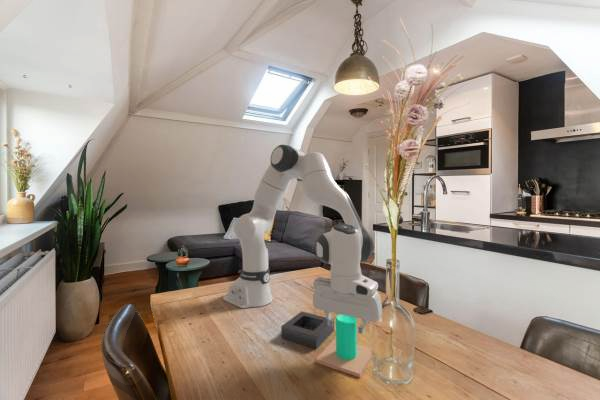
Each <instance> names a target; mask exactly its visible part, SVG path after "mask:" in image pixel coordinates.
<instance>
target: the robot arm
mask: <svg viewBox="0 0 600 400" xmlns="http://www.w3.org/2000/svg"><path fill="white" fill-rule="evenodd" d="M260 179H261V180H260V182H259V184H258V186H257V188H256V191H255V193H254V196H253V205H252V208H251V210H250V212H247V213H245V214H242V215H240V216H239V217H238V218H237V219H236V220H235V222H234V224H233V232H234V234H235V236H236V237H237V238H238V240H239V243H240V247H241V254H242V268H241V269H239V270H238V272H237V273H238V274H240V275H239V277H238V278H237V279H236V280H234V281H233V282H232V283H231V284H230V285H229V287H228V293H227V294H225V295H224V296H223V298H222V300H223V301H225V302H227V303H229V304H232V305H233V306H236V307H238V308H241V309H248V308H257V307H263V306H266V305H268V304H270V303H272V301H274V300H273V299H274V298H273V295H272V290H271V285H270V273H271V272H270V267H269V249H268V248H267V246H266V243H265V236H264V235H265V234H267V233H269V231H270V230H271V229H272V227H273V224H274V219H275V217H276V214H277V213H276V212H277V210H278V207H279V204H280V202H281V200H282V198H283V196H284V194H285V191H286V190H287V187H288V185H289V183H290V181H291V180H292V179H296V181H298V182H301V183H302V187H303V191H304V194H305V195H306V198H307V199H308V200H310V201H311V202H313V203H315V204H317V205H320V206H324V207H328V208H330V209H332V210H334V211H336V212H338V213H339V215H340V216H341V217H342V220H343V222H344V223H340V224H339V223H338V224H335V225H333V226H332V227H331V229H330V231H328V232H324V233H321V234H320V235H319V236H318V237H317V239H316V240H315V256H316V258H317V260H320V261H321V262H322V263H324V264H330V271H329V274H330V275H329V277H330V278H325V277H320V276H319V277H317V278H315V279H314V281H313V289H314V291H313V297H312V305H313V307H314V308H315V309H318V310H321V311H323V313H324V317H326V318H327V320H328V325H330V326H333V325H334V326H335V324H336V317H335V318H334V317H333V316H332V314H331V313H334V314H338V315H347V316H351V317H355V318H356V319H361V322H362V323H363V324H359V326H357V331H358V332H357V334H363V335H364V334H365V333H366V326H367V324H368V323H369V322H373V323H378V322H379V321H380V320H381V319H382V316H383V305H382V303H383V302H382V297H381V295H380V293H379V291H378V288H379V283H378V282H377V281H376V280H373V279H371V278H369V277H367V276H365V275H363V274H362V268H361V263H365V262H367V261H368V260H369V259H370V258H371V257H372V254H373V253H374V252H375V251H374V249H375V243H374V241H373V238H372V236H371V235H370V233H369V232H368V231H367V230H366V228H365V226H364V224H363V222H362V220H361V217H360V215H359V214H358V212H357V210H356V208H355V206H354V203H353V201H352V200H351V197H350V196H349V194H348V193H347V191H346V190H344V189H342V188H341V187H340V186H339V184H337V182H336V180H335V179H334V177H333V174H332V169H331V168H330V165H329V163H328V160H327V159H326V157H325V155H324V154H322V153H321V152H318V151H310V152H308V153H307V152H304V151H303V150H300V149H298V148H294V147H293V146H291V145H288V144H287V145H286V144H280V145H277V146H276V147H275V148H274V149H273V151H272V152H271V154H270V164H269V165H268V166H267V169H266V170H265V171H264V173H263V175H262V177H261V178H260Z"/></svg>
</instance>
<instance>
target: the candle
mask: <svg viewBox="0 0 600 400" xmlns="http://www.w3.org/2000/svg"><path fill="white" fill-rule="evenodd" d="M357 321H358V319H357V318H355V317H351V316H347V315H343V314H338V315H336V317H335V338H336V354H337V356H338V357H339V358H341V359H344V360H351V359H354V358H355V357H356V356H357V345H358V343H357V340H358V337H357V334H358V332H357V331H358V326H357V325H358V322H357Z"/></svg>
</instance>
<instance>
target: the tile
mask: <svg viewBox="0 0 600 400" xmlns="http://www.w3.org/2000/svg"><path fill="white" fill-rule="evenodd" d="M372 358H373V357H372V355H371V348H370V347H367V346H364V345H361V344H357V356H356V357H355V358H354V359H351V360H344V359H341V358H339V357H338V356H337V354H336V337H335V338H333V339H332V341H331V342H330V343H329V344H328V345H327V346H326V347H325V348H324V350H323V351H322V352H321V353H320V354H319V355H318V356H317V357H316V358H315V363H316V364H320V365H322V366H325V367H328V368H330V369H334V370H336V371H340V372H343V373H345V374H349V375H352V376H354V377H357V378H361V377H362V376H363V374H364V372H365V370H366V369H367V366H368V365H369V364H370V362H371V360H372Z"/></svg>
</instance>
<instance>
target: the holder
mask: <svg viewBox="0 0 600 400" xmlns="http://www.w3.org/2000/svg"><path fill="white" fill-rule="evenodd" d="M307 328H308V329H307ZM334 332H335V324H334V325H333V326H330V325H328V320H327V318H326V316H321V315H317V314H314V313H309V312H305V311H300V312H299V313H298V314H296V315H295V316H293V317H292V318H291V319H289V320H288V321H287V322H285V323H284V324H283V325H281V332H280V333H281V334H280V335H281V339H283V340H286V341H289V342H291V343H292V342H293V343H295V344H298V345H301V346H306V347H308V348H311V349H314V350H317V349H318V348H319V347H321V345H322V344H323V343H324V342H326V340H327V339H328V338H329V337H330V336H331V335H332V334H333V333H334Z"/></svg>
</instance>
